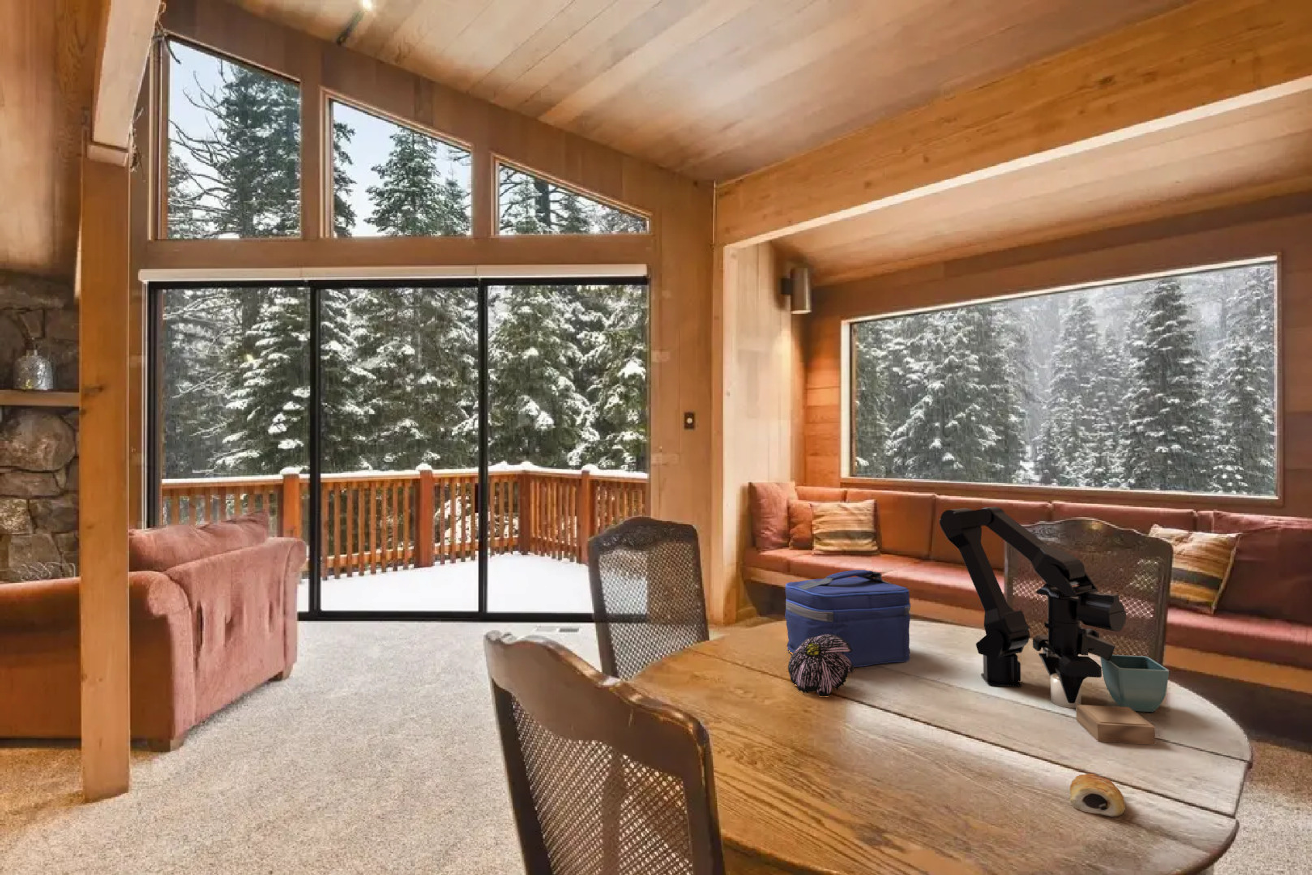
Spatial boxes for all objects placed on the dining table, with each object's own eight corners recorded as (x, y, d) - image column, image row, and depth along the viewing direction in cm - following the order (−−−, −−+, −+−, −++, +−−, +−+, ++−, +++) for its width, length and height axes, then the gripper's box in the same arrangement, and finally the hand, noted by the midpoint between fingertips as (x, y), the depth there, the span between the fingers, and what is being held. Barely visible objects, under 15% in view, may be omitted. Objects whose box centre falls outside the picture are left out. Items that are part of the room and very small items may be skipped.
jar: (1056, 707, 135) (1056, 680, 135) (1046, 697, 140) (1046, 671, 140) (1085, 708, 134) (1085, 681, 134) (1074, 698, 139) (1074, 672, 139)
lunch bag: (877, 636, 186) (876, 561, 186) (932, 659, 166) (930, 575, 166) (776, 649, 176) (774, 569, 176) (820, 675, 156) (819, 585, 156)
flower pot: (1171, 717, 129) (1170, 670, 129) (1119, 714, 131) (1118, 667, 131) (1148, 700, 138) (1147, 655, 138) (1099, 697, 140) (1098, 653, 140)
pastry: (1071, 782, 106) (1070, 757, 106) (1123, 794, 103) (1123, 768, 103) (1069, 810, 98) (1069, 783, 98) (1126, 824, 95) (1125, 796, 95)
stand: (1097, 741, 120) (1097, 723, 120) (1076, 720, 129) (1076, 703, 129) (1155, 744, 118) (1154, 726, 118) (1129, 723, 127) (1129, 706, 127)
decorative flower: (768, 639, 151) (822, 613, 156) (773, 681, 155) (826, 653, 161) (810, 676, 138) (867, 646, 144) (814, 721, 143) (870, 689, 148)
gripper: (1131, 634, 127) (1133, 718, 127) (1088, 609, 145) (1089, 683, 145) (1066, 632, 129) (1067, 715, 129) (1031, 608, 147) (1032, 680, 147)
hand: (1065, 697), depth 137 cm, fingers closed on jar, 5 cm apart
